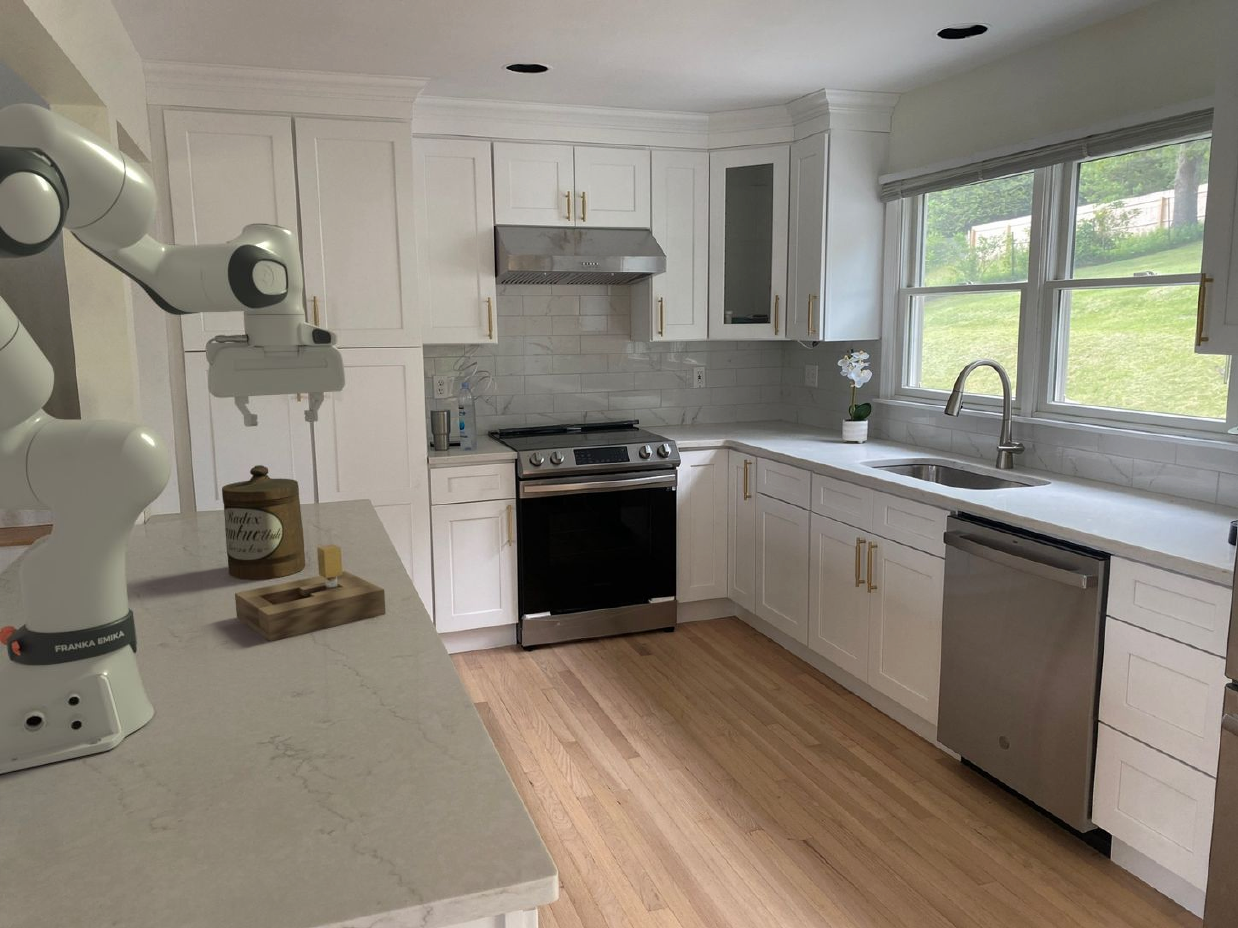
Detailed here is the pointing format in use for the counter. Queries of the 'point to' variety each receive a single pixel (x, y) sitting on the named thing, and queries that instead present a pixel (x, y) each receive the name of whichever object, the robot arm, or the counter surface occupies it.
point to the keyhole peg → (330, 564)
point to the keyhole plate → (308, 605)
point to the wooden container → (263, 527)
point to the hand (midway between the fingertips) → (282, 423)
